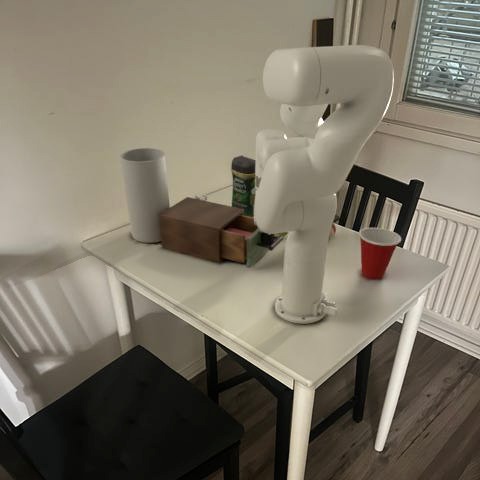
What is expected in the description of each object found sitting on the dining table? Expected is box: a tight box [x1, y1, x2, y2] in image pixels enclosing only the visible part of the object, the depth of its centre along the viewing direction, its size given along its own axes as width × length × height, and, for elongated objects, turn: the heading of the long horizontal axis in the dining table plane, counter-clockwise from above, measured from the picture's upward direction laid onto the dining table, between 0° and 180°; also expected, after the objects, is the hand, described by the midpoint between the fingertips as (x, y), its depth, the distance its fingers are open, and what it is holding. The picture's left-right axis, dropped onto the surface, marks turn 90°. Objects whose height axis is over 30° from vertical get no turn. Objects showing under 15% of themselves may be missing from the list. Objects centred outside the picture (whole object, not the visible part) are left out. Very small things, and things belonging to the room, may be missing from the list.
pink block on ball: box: [221, 228, 252, 254], centre depth 141 cm, size 13×5×5 cm, turn 62°
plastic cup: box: [358, 227, 402, 280], centre depth 130 cm, size 11×11×12 cm
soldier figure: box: [194, 195, 208, 201], centre depth 166 cm, size 8×5×12 cm
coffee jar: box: [230, 155, 256, 217], centre depth 161 cm, size 10×8×19 cm
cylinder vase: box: [119, 147, 171, 244], centre depth 146 cm, size 12×12×25 cm
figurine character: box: [329, 214, 342, 238], centre depth 147 cm, size 7×8×15 cm
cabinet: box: [159, 196, 244, 264], centre depth 144 cm, size 20×15×11 cm
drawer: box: [220, 215, 284, 268], centre depth 139 cm, size 24×14×9 cm, turn 62°
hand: (267, 244), depth 136 cm, fingers closed
